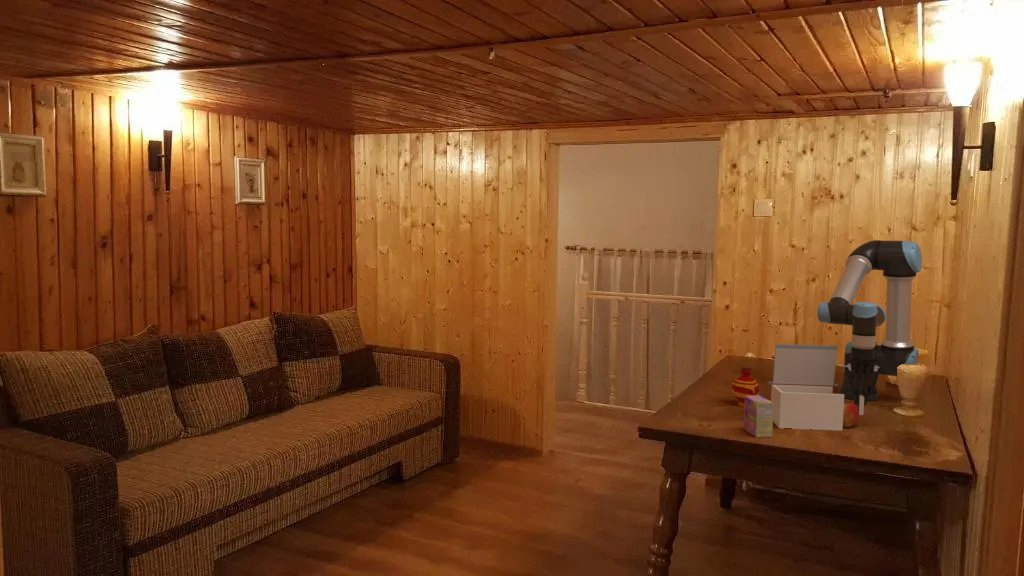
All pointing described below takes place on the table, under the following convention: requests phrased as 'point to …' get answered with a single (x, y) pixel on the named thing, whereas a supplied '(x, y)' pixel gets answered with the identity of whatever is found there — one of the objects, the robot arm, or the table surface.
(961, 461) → the table surface
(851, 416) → the apple
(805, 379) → the box lid
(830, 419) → the white lidded container
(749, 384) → the potion bottle
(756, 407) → the box
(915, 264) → the robot arm
